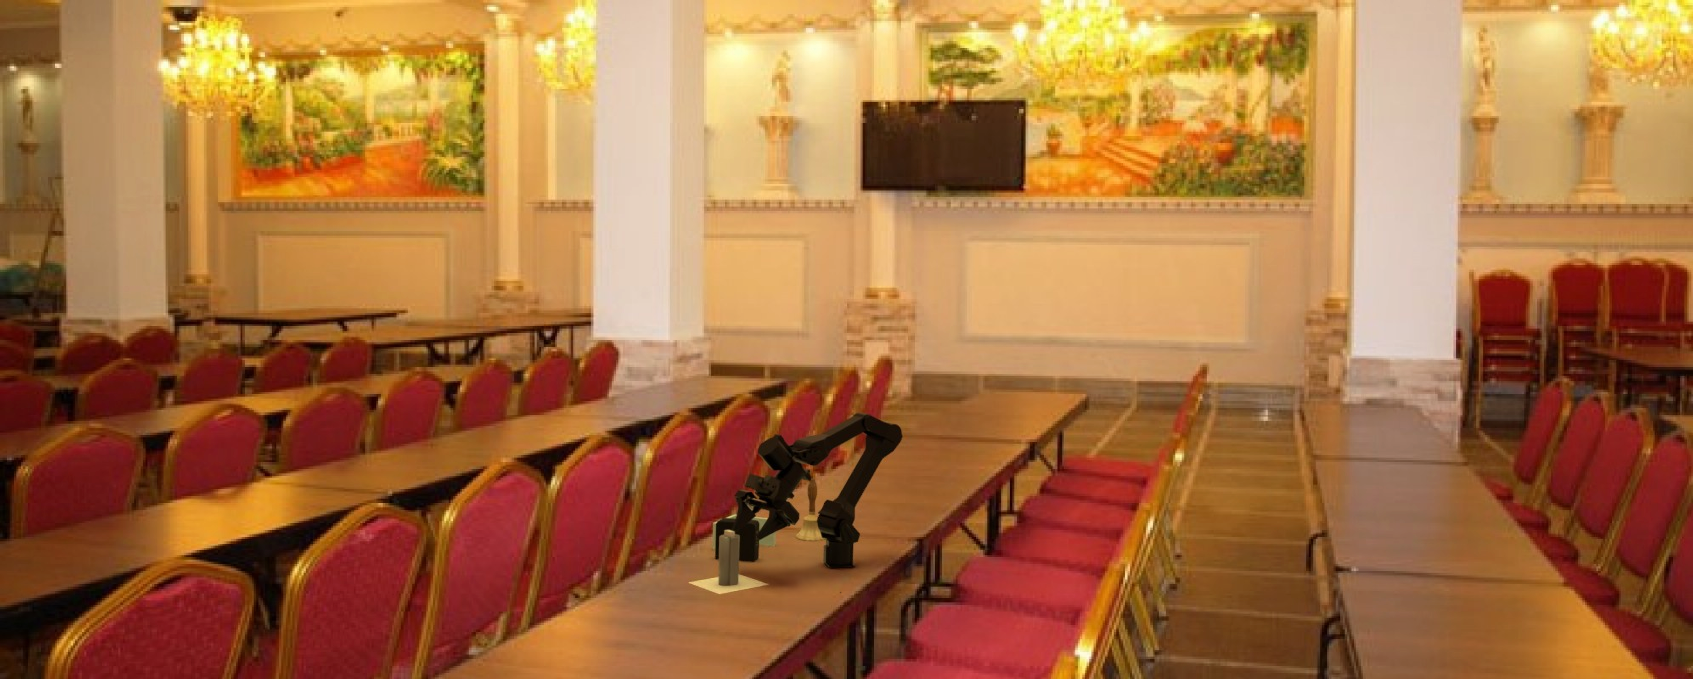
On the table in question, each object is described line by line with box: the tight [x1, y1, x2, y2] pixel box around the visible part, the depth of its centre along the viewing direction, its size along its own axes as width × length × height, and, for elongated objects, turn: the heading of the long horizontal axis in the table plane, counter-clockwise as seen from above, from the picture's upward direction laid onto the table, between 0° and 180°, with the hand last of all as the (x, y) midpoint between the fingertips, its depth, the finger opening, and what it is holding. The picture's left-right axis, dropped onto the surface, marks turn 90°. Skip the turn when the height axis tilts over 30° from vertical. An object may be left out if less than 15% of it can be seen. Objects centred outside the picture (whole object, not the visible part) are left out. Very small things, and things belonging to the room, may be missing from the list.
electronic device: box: [714, 517, 760, 563], centre depth 332 cm, size 4×10×10 cm, turn 78°
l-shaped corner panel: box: [712, 514, 777, 551], centre depth 345 cm, size 12×12×8 cm
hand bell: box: [795, 477, 826, 542], centre depth 359 cm, size 8×8×16 cm
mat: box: [688, 573, 770, 595], centre depth 308 cm, size 14×12×1 cm
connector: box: [717, 530, 740, 586], centre depth 308 cm, size 5×4×12 cm
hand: (745, 534), depth 311 cm, fingers open, 9 cm apart
